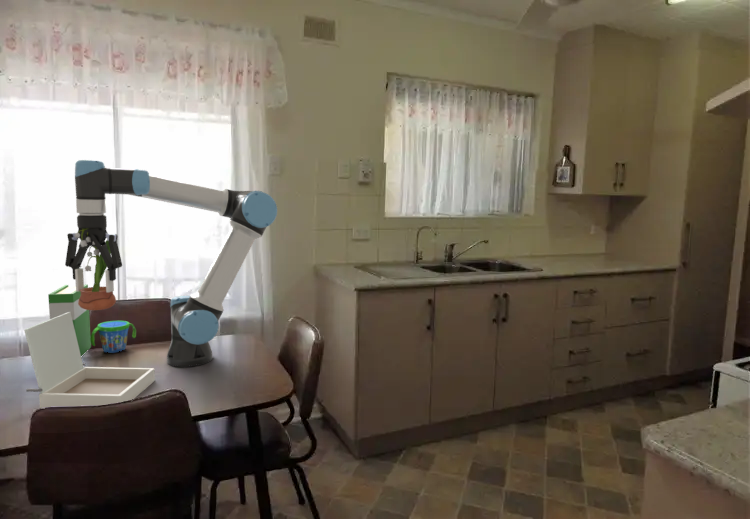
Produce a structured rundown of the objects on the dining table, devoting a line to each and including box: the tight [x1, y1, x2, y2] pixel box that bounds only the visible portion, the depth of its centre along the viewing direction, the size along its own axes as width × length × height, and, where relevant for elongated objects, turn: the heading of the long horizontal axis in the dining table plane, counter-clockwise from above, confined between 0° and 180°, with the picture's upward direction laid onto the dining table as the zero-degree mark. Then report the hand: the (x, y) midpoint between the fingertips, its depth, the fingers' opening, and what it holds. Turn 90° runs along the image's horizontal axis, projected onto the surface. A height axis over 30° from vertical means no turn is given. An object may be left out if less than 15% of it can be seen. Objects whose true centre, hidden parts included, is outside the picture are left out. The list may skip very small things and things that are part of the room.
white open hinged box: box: [23, 312, 156, 409], centre depth 150 cm, size 26×22×22 cm
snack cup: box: [90, 320, 137, 354], centre depth 190 cm, size 16×10×10 cm
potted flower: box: [75, 228, 117, 311], centre depth 152 cm, size 12×10×25 cm
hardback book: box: [48, 284, 92, 357], centre depth 183 cm, size 18×7×24 cm, turn 15°
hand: (95, 290), depth 153 cm, fingers closed on potted flower, 8 cm apart
